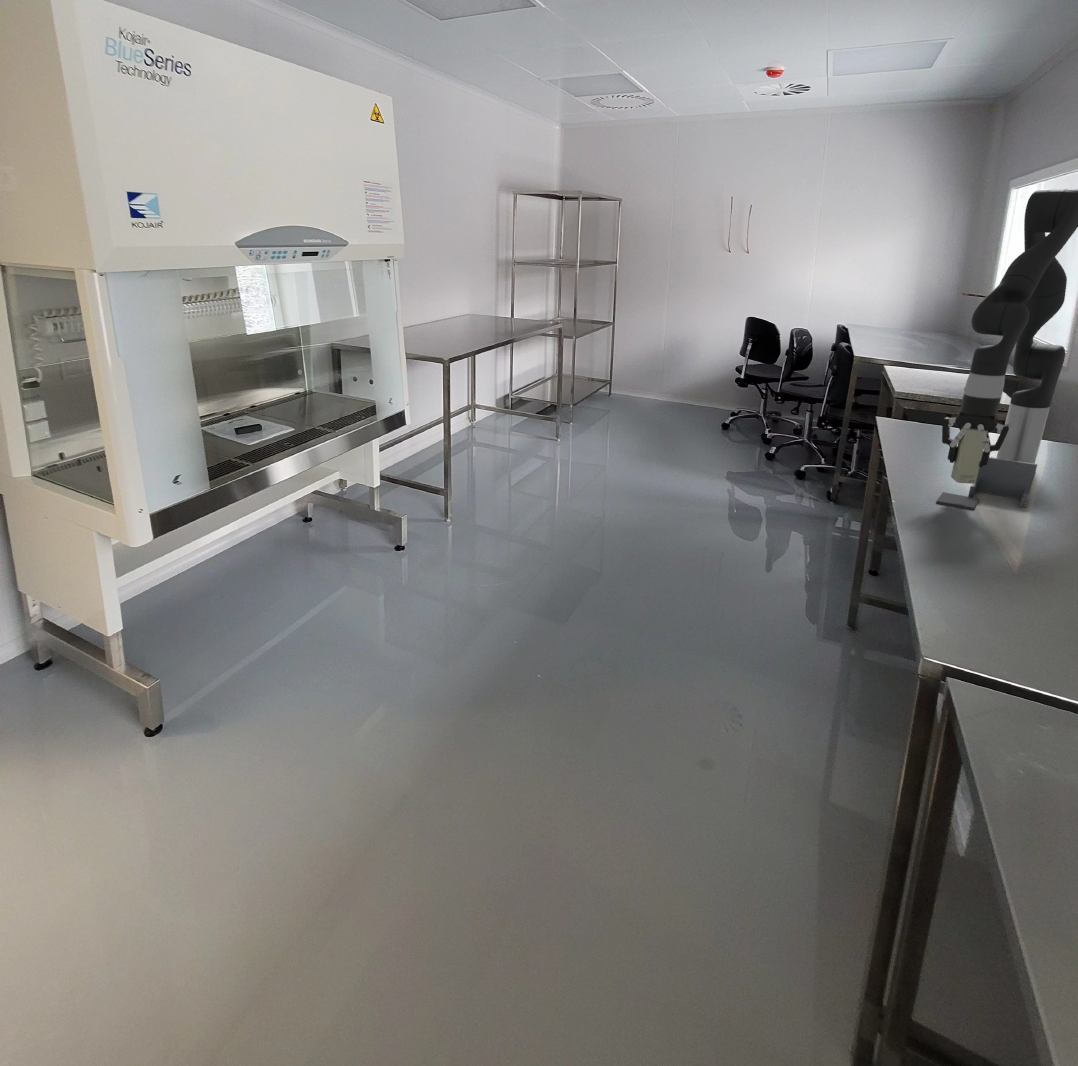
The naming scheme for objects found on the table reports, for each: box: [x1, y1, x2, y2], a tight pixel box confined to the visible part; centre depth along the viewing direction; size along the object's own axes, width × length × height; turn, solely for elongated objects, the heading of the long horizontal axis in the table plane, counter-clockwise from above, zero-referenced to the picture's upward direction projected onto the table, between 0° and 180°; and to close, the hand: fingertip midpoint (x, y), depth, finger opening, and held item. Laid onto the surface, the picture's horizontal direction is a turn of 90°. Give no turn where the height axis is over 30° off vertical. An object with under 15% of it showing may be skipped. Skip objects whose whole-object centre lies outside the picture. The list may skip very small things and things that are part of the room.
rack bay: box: [967, 456, 1038, 509], centre depth 178 cm, size 8×12×9 cm, turn 53°
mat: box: [935, 491, 980, 511], centre depth 178 cm, size 8×8×1 cm
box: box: [950, 428, 989, 485], centre depth 173 cm, size 5×4×13 cm
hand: (966, 464), depth 174 cm, fingers closed on box, 5 cm apart
